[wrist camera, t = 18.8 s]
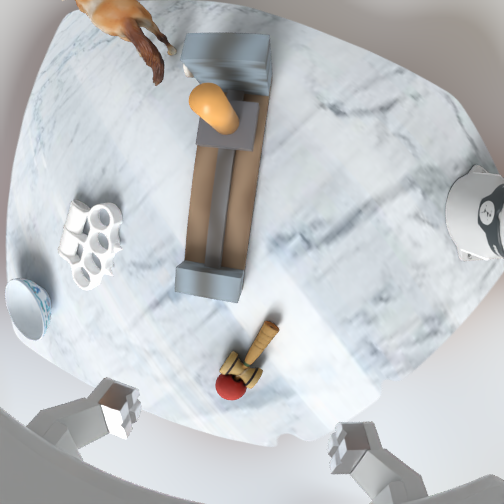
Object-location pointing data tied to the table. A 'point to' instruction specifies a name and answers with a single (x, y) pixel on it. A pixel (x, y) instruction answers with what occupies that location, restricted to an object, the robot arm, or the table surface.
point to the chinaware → (28, 307)
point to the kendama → (244, 366)
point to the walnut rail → (236, 197)
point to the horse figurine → (129, 28)
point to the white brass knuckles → (90, 242)
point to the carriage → (223, 119)
